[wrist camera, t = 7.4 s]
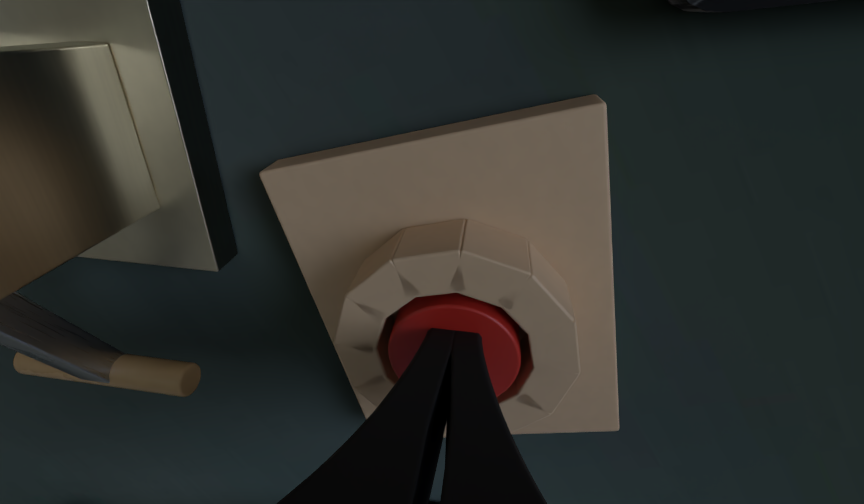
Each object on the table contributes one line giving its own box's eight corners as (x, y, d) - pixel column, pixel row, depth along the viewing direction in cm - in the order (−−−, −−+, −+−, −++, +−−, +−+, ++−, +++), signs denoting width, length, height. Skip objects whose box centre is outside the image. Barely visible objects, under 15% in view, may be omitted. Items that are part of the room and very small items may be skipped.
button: (526, 359, 13) (529, 403, 12) (416, 366, 14) (406, 409, 13) (509, 261, 12) (510, 298, 10) (386, 276, 12) (370, 313, 11)
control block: (612, 404, 15) (634, 483, 13) (381, 414, 18) (360, 484, 15) (596, 92, 10) (628, 119, 8) (276, 159, 13) (218, 198, 10)
